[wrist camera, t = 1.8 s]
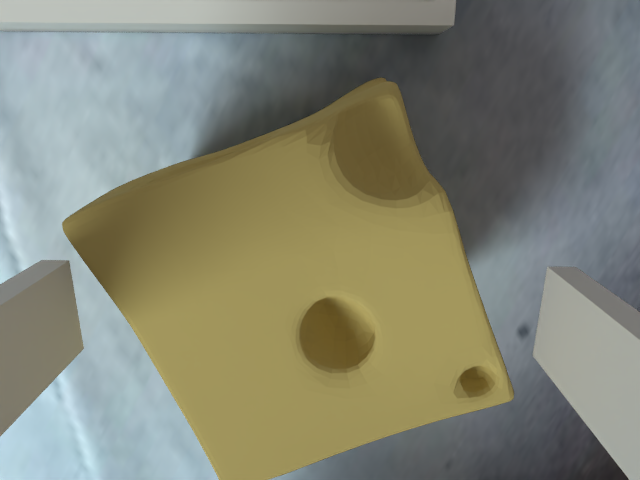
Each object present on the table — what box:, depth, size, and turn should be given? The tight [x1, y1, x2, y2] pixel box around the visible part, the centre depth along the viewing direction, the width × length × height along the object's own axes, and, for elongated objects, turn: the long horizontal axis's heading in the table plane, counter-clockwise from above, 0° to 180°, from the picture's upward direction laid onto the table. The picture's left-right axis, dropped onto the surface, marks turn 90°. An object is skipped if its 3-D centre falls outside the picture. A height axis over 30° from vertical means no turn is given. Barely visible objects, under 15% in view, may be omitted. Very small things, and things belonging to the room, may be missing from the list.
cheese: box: [62, 78, 514, 480], centre depth 18 cm, size 10×11×10 cm
